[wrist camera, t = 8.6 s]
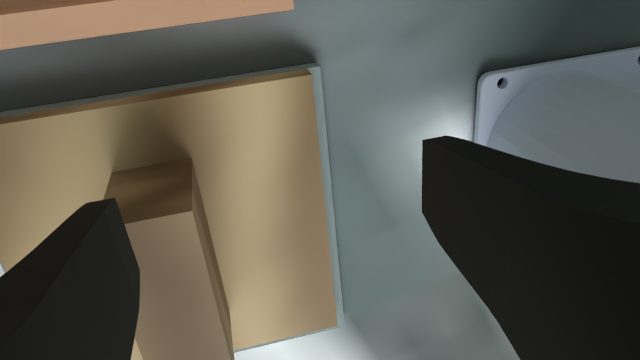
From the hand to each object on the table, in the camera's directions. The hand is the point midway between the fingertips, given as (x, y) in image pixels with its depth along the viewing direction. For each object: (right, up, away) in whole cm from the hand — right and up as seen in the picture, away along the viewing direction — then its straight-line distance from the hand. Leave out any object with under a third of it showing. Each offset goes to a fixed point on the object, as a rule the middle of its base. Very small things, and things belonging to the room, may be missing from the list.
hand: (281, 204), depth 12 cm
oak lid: (-5, -2, +10) cm, 11 cm away
